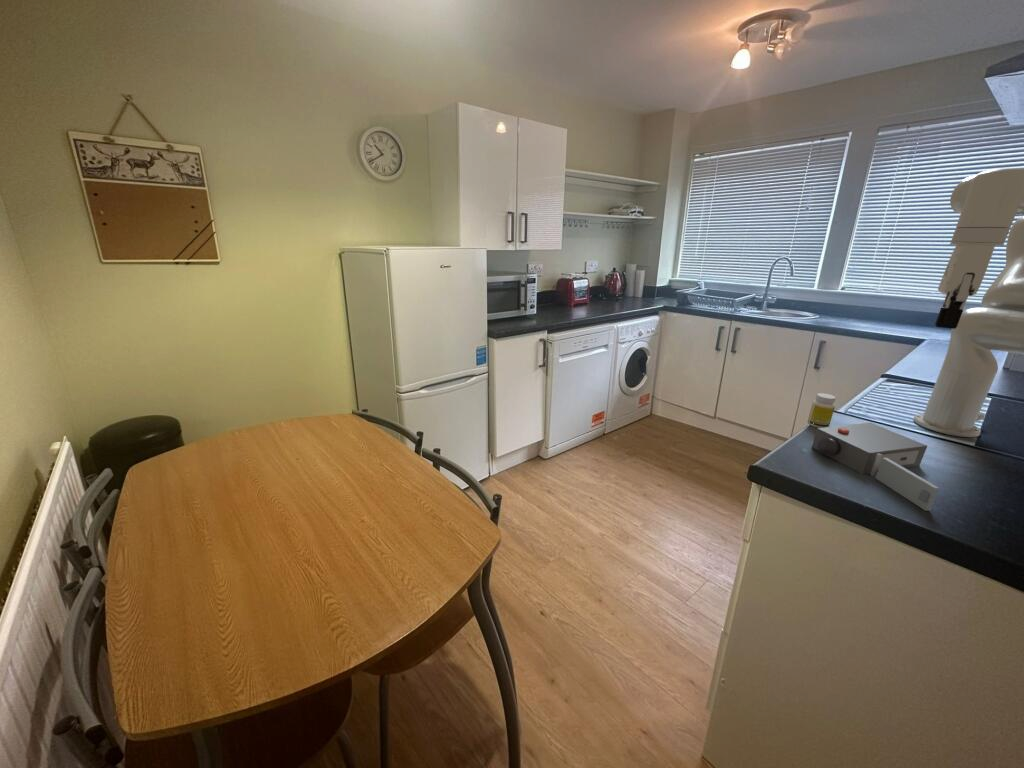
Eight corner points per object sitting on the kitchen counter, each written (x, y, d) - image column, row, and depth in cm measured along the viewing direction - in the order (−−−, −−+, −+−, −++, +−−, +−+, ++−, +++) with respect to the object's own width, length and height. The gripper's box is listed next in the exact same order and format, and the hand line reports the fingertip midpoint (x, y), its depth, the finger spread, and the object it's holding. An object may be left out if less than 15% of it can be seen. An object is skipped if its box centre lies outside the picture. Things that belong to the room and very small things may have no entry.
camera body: (864, 441, 102) (871, 420, 100) (926, 469, 90) (935, 446, 88) (805, 447, 98) (811, 426, 96) (861, 478, 86) (870, 454, 84)
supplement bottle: (832, 429, 108) (841, 399, 105) (812, 428, 109) (820, 398, 106) (823, 422, 112) (831, 393, 109) (803, 420, 113) (811, 391, 110)
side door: (930, 510, 76) (939, 488, 74) (921, 510, 76) (930, 488, 74) (879, 478, 86) (886, 457, 84) (871, 478, 86) (879, 457, 84)
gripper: (947, 237, 91) (918, 320, 98) (958, 237, 80) (925, 330, 87) (996, 238, 87) (963, 324, 93) (1016, 237, 76) (976, 335, 82)
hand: (945, 327), depth 90 cm, fingers closed
